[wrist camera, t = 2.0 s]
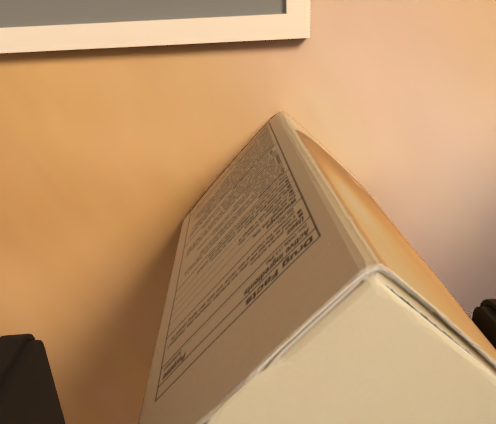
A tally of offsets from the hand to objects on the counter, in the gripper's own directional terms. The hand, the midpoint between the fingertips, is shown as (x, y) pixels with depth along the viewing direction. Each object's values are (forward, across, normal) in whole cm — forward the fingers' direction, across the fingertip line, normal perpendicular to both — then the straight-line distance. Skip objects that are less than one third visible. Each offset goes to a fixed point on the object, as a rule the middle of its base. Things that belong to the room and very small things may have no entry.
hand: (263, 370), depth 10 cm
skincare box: (+10, -1, 0) cm, 10 cm away
